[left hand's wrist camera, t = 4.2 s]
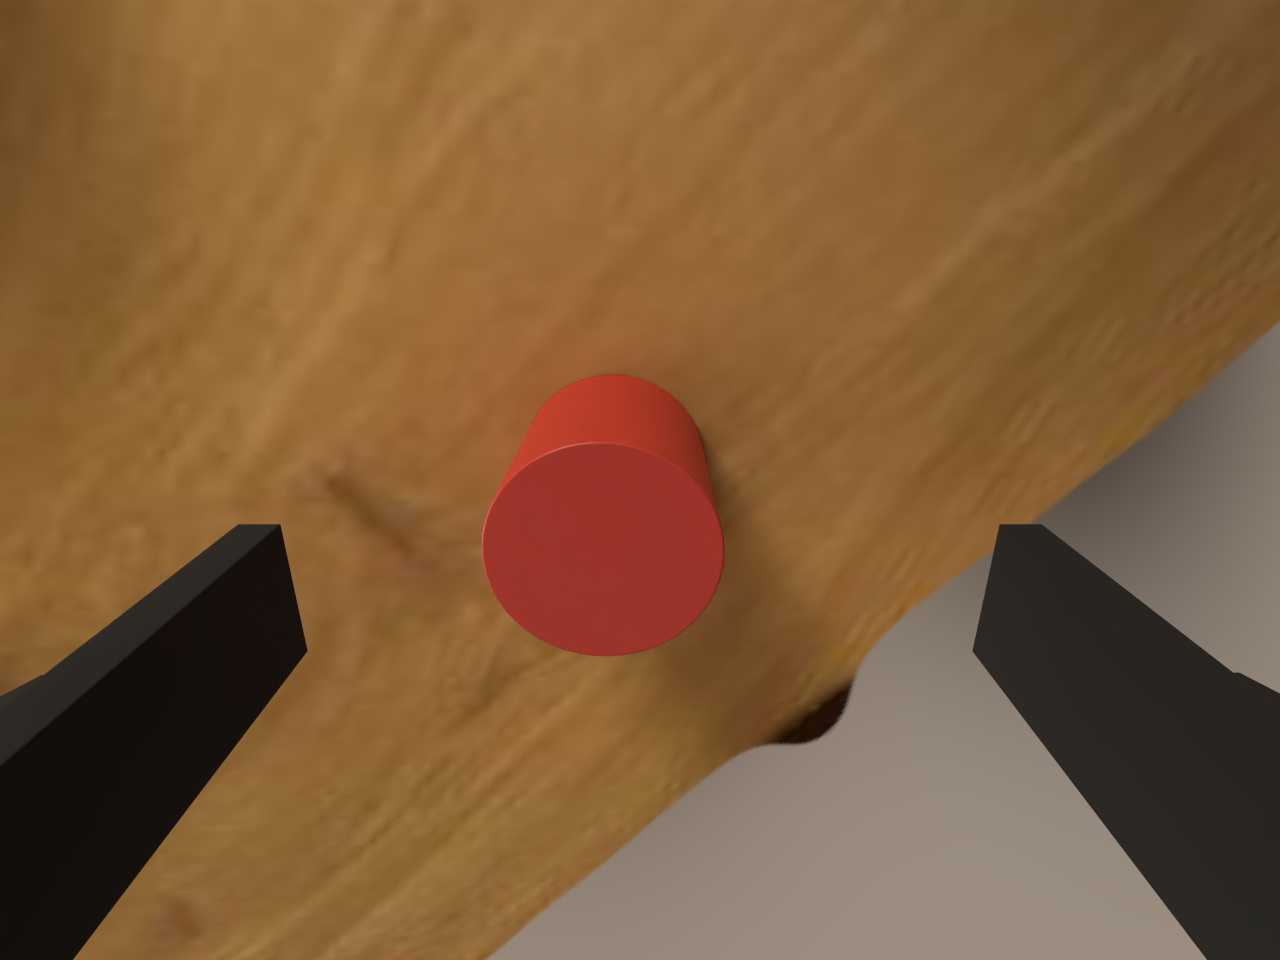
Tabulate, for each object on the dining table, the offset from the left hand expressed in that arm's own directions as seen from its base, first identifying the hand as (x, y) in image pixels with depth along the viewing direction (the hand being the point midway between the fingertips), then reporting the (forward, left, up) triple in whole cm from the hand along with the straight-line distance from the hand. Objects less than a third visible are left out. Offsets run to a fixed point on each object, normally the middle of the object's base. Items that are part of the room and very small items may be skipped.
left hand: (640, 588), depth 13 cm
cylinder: (-3, -2, -14) cm, 15 cm away
